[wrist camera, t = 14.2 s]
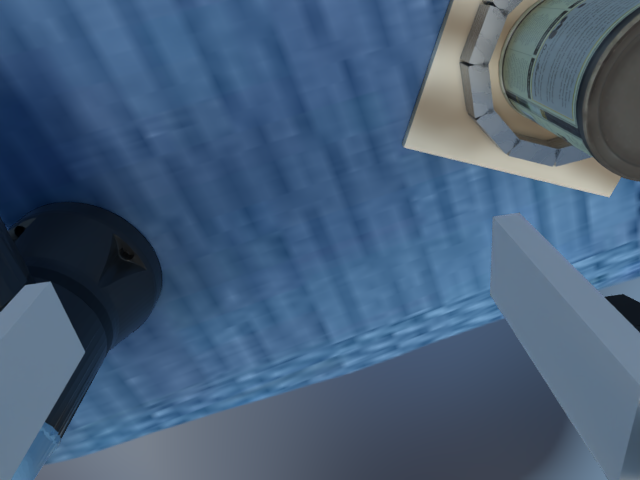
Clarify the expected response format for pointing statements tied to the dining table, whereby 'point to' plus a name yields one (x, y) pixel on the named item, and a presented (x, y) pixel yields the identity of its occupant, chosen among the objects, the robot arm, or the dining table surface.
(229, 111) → the dining table surface
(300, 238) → the dining table surface
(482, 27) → the steel collar
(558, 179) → the birch board
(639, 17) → the coffee can
